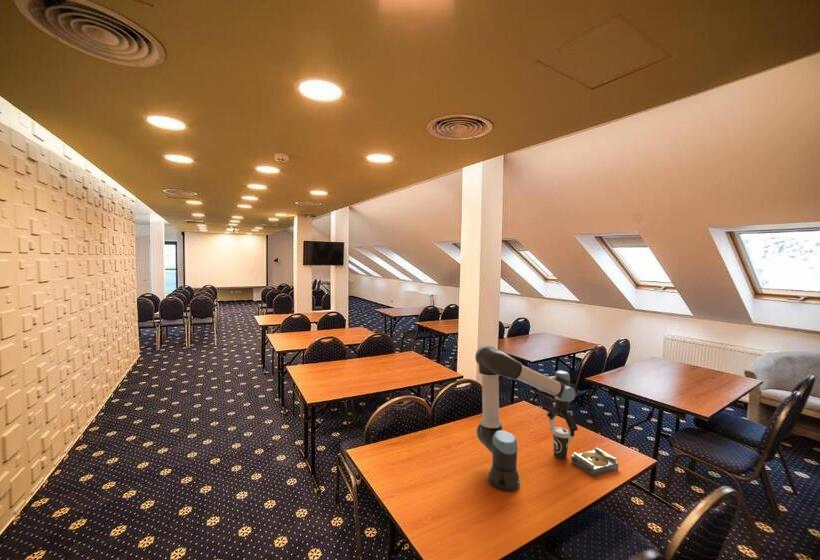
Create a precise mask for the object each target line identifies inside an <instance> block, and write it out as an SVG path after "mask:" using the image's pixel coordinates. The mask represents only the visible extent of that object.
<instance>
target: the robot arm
mask: <svg viewBox="0 0 820 560" xmlns="http://www.w3.org/2000/svg"><path fill="white" fill-rule="evenodd" d="M474 358H475V362H476V363H477V365H478V373H479V374H480V375H481V396H482V399H481V401H482V418H481V419H480V420H479V423H478V425H477V427H476V436H477V439H478V440H479V442H480V443H481V444H482V445H483V446H484V447H485V448H486V449H487V450H488V451H489V452H490V453H491V454H492V464H491V467H490V471H489V472H488V475H487V478H488V484H490V485H491V486H492V487H493V488H495V489H497V490H498V491H501V492H506V493H507V492H514V491H515V492H516V491H517V490H518V489H519V488H520V486H521V479H520V476H519V473H518V468H517V467H518V466H517V464H518V463H517V462H518V460H517V459H518V448H519V447H518V440H517V437H516V436H515V435H514V434H513V433H511V432H508V431H507V430H503V422H502V421H501V420H500V400H499V399H500V396H499V395H500V393H499V391H500V389H499V387H500V386H499V383H500V382H499V376H501V377H504V378H508V379H510V380H513V381H516V380H518V381H520V382H522V383H524V384H527V385H530V386H532V388H536V389H537V390H538V391H539V392H545V393H547V394H550V395H551V396H554V402H552V403H550V408H549V409H548V412H547V414H546V416H547V417H548V418H549V425H550V426H549V427H550V428H549V429H550V430H549V431H550V432H552V430H553V429H554V428H555V427H556V419H555V418H556V417H557V416H558V415H560V416H561V417H562V418H563V419H564V420H565V422H566V424H567V426H568V428H569V429H568V431H569V440H568V443H572V442H574V437H575V432H577V431H578V430H579V429H578V426H577V423H576V420H575V416H574V411H573V410H571V411H570V410H569V408H570V402H573V401H574V400H575V398H576V391H575V389H574V388H573V387H571V377H570V373H569V372H568V371H565V370H557V371H555V373H554V375H552V376H551V375H550V376H546V375H544V374H542V373H540V372H538V371H536V370H534V369H532V368H530V367H527V366H525V365H523V364H522V363H521V361H519V360H517V359H515V358H514V357H512V356H510V355H508V353H506V352H504V351H502V350H500V349H497V348H495V347H494V346H490V345H482V346H480V347H479V348H478V350H477V351H476V353H475V355H474Z"/></svg>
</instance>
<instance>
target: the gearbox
mask: <svg viewBox="0 0 820 560" xmlns="http://www.w3.org/2000/svg"><path fill="white" fill-rule="evenodd" d="M570 461H571V462H570V463H572V464H573V465H575V466H576V467H577V468H579V469H580V470H581V471H584V473H586V474H587V475H589V476H591V477H592V478H594V477H599V476H601V475H605V474H610V473H613V472H617V471H619V462H618V461H617V457H614V456H613V455H612V454H611V455H610V454H609V453H607V452H605V451H603V450H602V449H600V448H598V447H595V448H594V449H593V450H588V451H585V452H580V453H577V452H573V454H571V459H570Z"/></svg>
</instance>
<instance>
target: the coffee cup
mask: <svg viewBox="0 0 820 560" xmlns="http://www.w3.org/2000/svg"><path fill="white" fill-rule="evenodd" d="M551 434H552V445H553V456H554V457H555V458H557V459H559V460H566V459H567V457H568V449H569V448H568V447H569V442H568V440H569V429H567V428H564V427H561V426H555V428H554V429H553V430H552V431H551Z"/></svg>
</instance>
